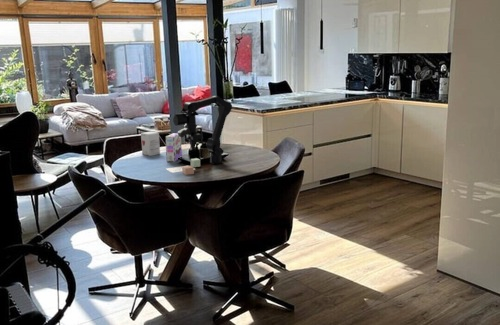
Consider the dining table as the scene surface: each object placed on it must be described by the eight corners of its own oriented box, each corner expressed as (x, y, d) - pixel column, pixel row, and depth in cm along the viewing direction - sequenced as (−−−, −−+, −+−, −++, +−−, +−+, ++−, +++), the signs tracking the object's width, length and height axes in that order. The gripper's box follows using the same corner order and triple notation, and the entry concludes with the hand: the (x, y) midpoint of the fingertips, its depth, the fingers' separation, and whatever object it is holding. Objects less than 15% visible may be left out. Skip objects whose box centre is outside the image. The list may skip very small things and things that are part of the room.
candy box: (175, 162, 299) (173, 136, 295) (166, 161, 300) (164, 136, 296) (182, 157, 312) (181, 132, 308) (174, 157, 313) (172, 132, 309)
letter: (188, 165, 288) (188, 165, 288) (195, 169, 279) (195, 169, 278) (165, 169, 281) (165, 168, 281) (171, 173, 272) (171, 172, 272)
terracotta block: (190, 172, 273) (190, 165, 272) (193, 174, 269) (193, 167, 268) (182, 173, 271) (182, 166, 270) (185, 175, 266) (185, 168, 265)
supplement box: (141, 154, 323) (140, 132, 319) (152, 152, 330) (150, 131, 326) (150, 156, 317) (148, 134, 314) (160, 153, 324) (159, 132, 320)
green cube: (197, 165, 289) (197, 158, 288) (200, 166, 285) (200, 159, 284) (190, 166, 287) (190, 159, 286) (193, 167, 283) (193, 160, 282)
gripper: (172, 122, 282) (174, 148, 286) (184, 127, 266) (186, 153, 270) (189, 120, 287) (191, 145, 291) (202, 124, 271) (203, 151, 275)
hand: (192, 149), depth 282 cm, fingers closed
